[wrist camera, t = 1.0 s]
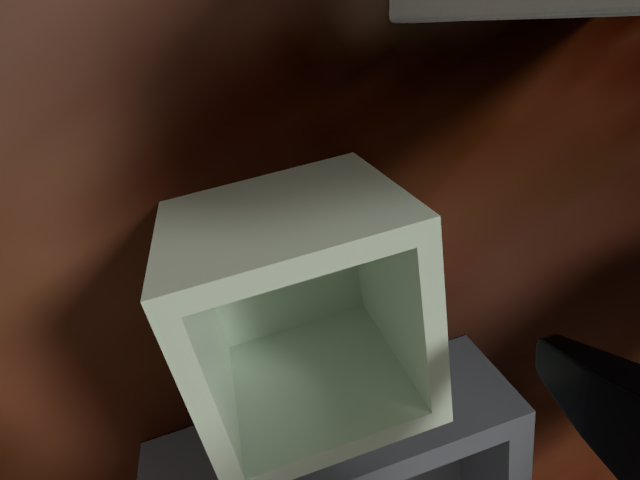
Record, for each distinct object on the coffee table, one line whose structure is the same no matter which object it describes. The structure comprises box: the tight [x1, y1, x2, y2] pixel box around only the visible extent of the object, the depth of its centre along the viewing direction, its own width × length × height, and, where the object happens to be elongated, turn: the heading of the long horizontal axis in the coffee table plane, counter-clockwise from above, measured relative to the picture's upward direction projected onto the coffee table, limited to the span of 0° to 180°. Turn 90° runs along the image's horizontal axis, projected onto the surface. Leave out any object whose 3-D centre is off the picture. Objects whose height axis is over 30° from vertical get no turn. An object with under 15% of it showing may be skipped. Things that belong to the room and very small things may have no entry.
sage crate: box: [140, 152, 453, 480], centre depth 13 cm, size 6×6×6 cm
